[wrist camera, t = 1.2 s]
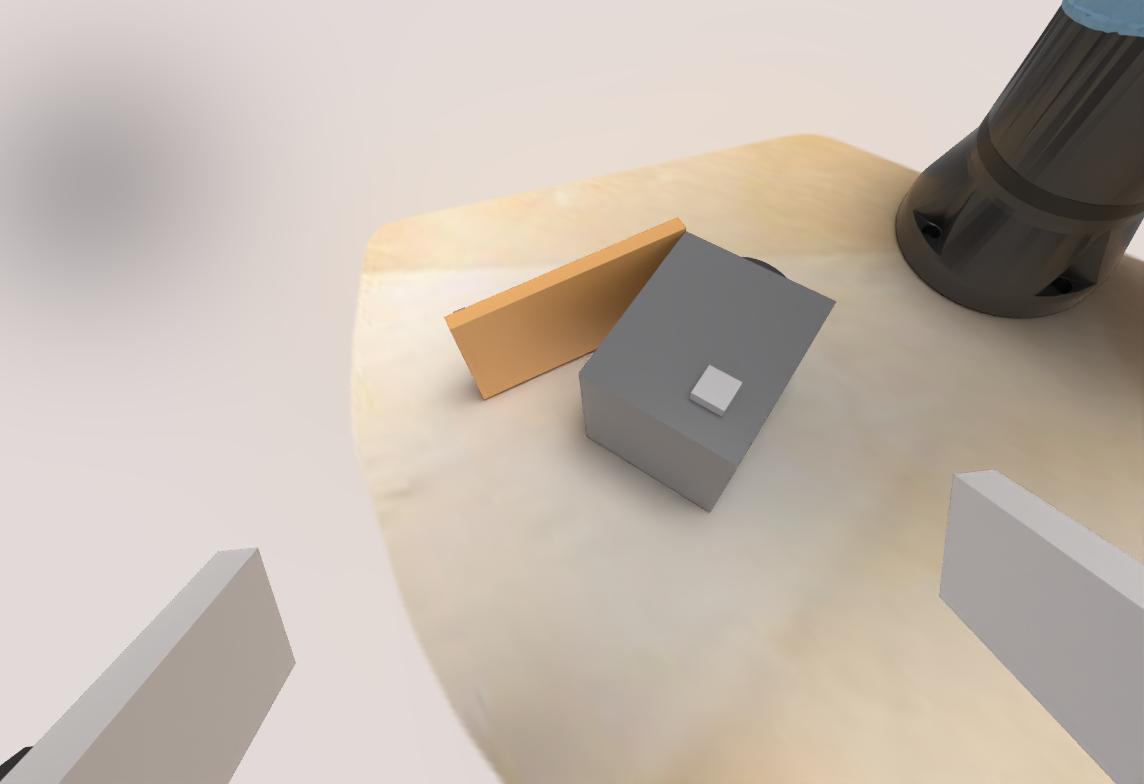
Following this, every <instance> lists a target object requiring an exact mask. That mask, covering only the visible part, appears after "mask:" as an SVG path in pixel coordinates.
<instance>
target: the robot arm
mask: <svg viewBox="0 0 1144 784" xmlns="http://www.w3.org/2000/svg"><path fill="white" fill-rule="evenodd" d="M1143 218H1144V0H1063V1H1062V5H1061V6H1060V8H1059V9H1058V11H1057V12H1056V14H1055V15H1054V17H1053V18H1052V20H1051V21H1050V23H1049V24H1048V26H1047V27H1046V29H1045V30H1044V32H1043V33H1042V35H1041V36H1040V38H1039V39H1038V41H1037V42H1036V43H1035V45H1034V46H1033V48H1032V49H1031V51H1030V52H1029V54H1028V55H1027V57H1026V58H1025V59H1024V61H1023V63H1022V64H1021V65H1020V67H1019V68H1018V70H1017V71H1016V73H1015V74H1014V76H1013V77H1012V78H1011V80H1010V81H1009V83H1008V84H1007V86H1006V87H1005V89H1004V90H1003V92H1002V93H1001V95H1000V96H999V97H998V99H997V100H996V102H995V103H994V105H993V107H992V108H991V110H990V111H989V113H988V114H987V116H986V117H985V118H984V120H983V121H982V123H981V124H980V126H979V127H978V128H976V129H975V130H974V131H973V132H971V133H970V134H969V135H968V136H967V137H965V138H964V139H963V140H961V141H960V142H959V143H958V144H956V145H955V146H954V147H953V148H951V149H950V150H949V151H948V152H946V153H945V154H944V155H943V156H941V157H940V158H939V159H938V160H936V161H935V162H934V163H933V164H931V165H930V166H929V167H928V168H926V169H925V171H923V172H922V174H921V175H920V176H919V177H918V178H917V179H916V181H915V182H914V184H913V185H912V187H911V188H910V190H909V192H908V193H907V195H906V196H905V198H904V200H903V201H902V203H901V205H900V208H899V211H898V214H897V221H896V231H897V237H898V241H899V244H900V247H901V249H902V252H903V254H904V256H905V257H906V259H907V261H908V262H909V264H910V265H911V266H912V268H913V269H914V270H915V271H916V272H917V274H918V275H919V276H920V277H921V278H922V279H923V280H924V281H926V282H927V283H928V284H929V285H930V286H932V287H933V288H934V289H935V290H937V291H938V292H940V293H941V294H943V295H944V296H946V297H948V298H950V299H951V300H953V301H955V302H957V303H959V304H962V305H964V306H966V307H969V308H971V309H974V310H977V311H980V312H984V313H988V314H992V315H997V316H1003V317H1013V318H1032V317H1041V316H1046V315H1051V314H1055V313H1058V312H1061V311H1063V310H1066V309H1068V308H1070V307H1072V306H1074V305H1075V304H1077V303H1078V302H1080V301H1081V300H1082V299H1084V298H1085V297H1086V296H1087V295H1089V294H1090V293H1091V292H1092V291H1094V290H1095V289H1096V288H1097V287H1099V286H1100V285H1101V284H1102V283H1103V282H1104V281H1105V280H1106V279H1107V278H1108V277H1109V276H1110V275H1111V273H1112V272H1113V271H1114V269H1115V268H1116V266H1117V264H1118V263H1119V261H1120V259H1121V257H1122V256H1123V254H1124V252H1125V250H1126V248H1127V247H1128V245H1129V243H1130V241H1131V240H1132V238H1133V236H1134V234H1135V232H1136V230H1137V229H1138V227H1139V225H1140V224H1141V222H1142V220H1143ZM939 597H940V598H941V599H942V600H943V601H944V602H945V603H946V604H947V605H948V606H949V607H950V608H951V609H952V611H953V612H954V613H955V614H956V615H957V616H958V617H959V618H960V619H961V620H962V621H963V622H964V623H965V624H966V625H967V626H968V627H969V629H970V630H971V631H972V632H973V633H974V634H975V635H976V636H977V637H978V638H979V639H980V640H981V641H982V642H983V643H984V644H985V646H986V647H987V648H988V649H989V650H990V651H991V652H992V653H993V654H994V655H995V656H996V657H997V658H998V659H999V660H1000V661H1001V662H1002V664H1003V665H1004V666H1005V667H1006V668H1007V669H1008V670H1009V671H1010V672H1011V673H1012V674H1013V675H1014V676H1015V677H1016V678H1017V679H1018V680H1019V682H1020V683H1021V684H1022V685H1023V686H1024V687H1025V688H1026V689H1027V690H1028V691H1029V692H1030V693H1031V694H1032V695H1033V696H1034V697H1035V698H1036V700H1037V701H1038V702H1039V703H1040V704H1041V705H1042V706H1043V707H1044V708H1045V709H1046V710H1047V711H1048V712H1049V713H1050V714H1051V715H1052V716H1053V718H1054V719H1055V720H1056V721H1057V722H1058V723H1059V724H1060V725H1061V726H1062V727H1063V728H1064V729H1065V730H1066V731H1067V732H1068V733H1069V734H1070V736H1071V737H1072V738H1073V739H1074V740H1075V741H1076V742H1077V743H1078V744H1079V745H1080V746H1081V747H1082V748H1083V749H1084V750H1085V751H1086V752H1087V754H1088V755H1089V756H1090V757H1091V758H1092V759H1093V760H1094V761H1095V762H1096V763H1097V764H1098V765H1099V766H1100V767H1101V768H1102V769H1103V770H1104V772H1105V773H1106V774H1107V775H1108V776H1109V777H1110V778H1111V779H1112V780H1113V781H1114V782H1115V783H1116V784H1144V564H1143V563H1141V562H1140V561H1138V560H1137V559H1135V558H1133V557H1132V556H1130V555H1129V554H1127V553H1126V552H1124V551H1122V550H1121V549H1119V548H1118V547H1116V546H1114V545H1113V544H1111V543H1110V542H1108V541H1107V540H1105V539H1103V538H1102V537H1100V536H1099V535H1097V534H1096V533H1094V532H1092V531H1091V530H1089V529H1088V528H1086V527H1085V526H1083V525H1081V524H1080V523H1078V522H1077V521H1075V520H1073V519H1072V518H1070V517H1069V516H1067V515H1066V514H1064V513H1062V512H1061V511H1059V510H1058V509H1056V508H1055V507H1053V506H1051V505H1050V504H1048V503H1047V502H1045V501H1044V500H1042V499H1040V498H1039V497H1037V496H1036V495H1034V494H1032V493H1031V492H1029V491H1028V490H1026V489H1025V488H1023V487H1021V486H1020V485H1018V484H1017V483H1015V482H1014V481H1012V480H1010V479H1009V478H1007V477H1006V476H1004V475H1002V474H1001V473H999V472H998V471H996V470H986V471H977V472H967V473H958V474H953V482H952V491H951V499H950V508H949V517H948V525H947V534H946V542H945V551H944V559H943V568H942V576H941V585H940V594H939ZM294 665H295V659H294V657H293V653H292V650H291V647H290V644H289V641H288V638H287V635H286V632H285V629H284V626H283V623H282V620H281V617H280V614H279V611H278V607H277V604H276V601H275V598H274V595H273V592H272V589H271V586H270V583H269V580H268V577H267V574H266V571H265V568H264V565H263V562H262V559H261V556H260V553H259V550H258V548H250V549H240V550H230V551H221V552H217V554H215V555H214V557H213V558H212V559H211V560H210V561H209V562H208V563H207V564H206V565H205V566H204V567H203V568H202V569H201V570H200V571H199V572H198V573H197V575H196V576H195V577H194V578H193V579H192V580H191V581H190V582H189V583H188V584H187V585H186V586H185V587H184V588H183V589H182V590H181V592H179V593H178V595H177V596H176V597H175V598H174V599H173V600H172V601H171V602H170V603H169V604H168V605H167V606H166V607H165V608H164V609H163V610H162V611H161V613H160V614H159V615H158V616H157V617H156V618H155V619H154V620H153V621H152V622H151V623H150V624H149V625H148V626H147V627H146V628H145V629H144V631H142V633H141V634H140V635H139V636H138V637H137V638H136V639H135V640H134V641H133V642H132V643H131V644H130V645H129V646H128V647H127V648H126V649H125V651H124V652H123V653H122V654H121V655H120V656H119V657H118V658H117V659H116V660H115V661H114V662H113V663H112V664H111V665H110V666H109V667H108V668H107V669H106V671H105V672H104V673H103V674H102V675H101V676H100V677H99V678H98V679H97V680H96V681H95V682H94V683H93V684H92V685H91V686H90V687H89V688H88V690H87V691H86V692H85V693H84V694H83V695H82V696H81V697H80V698H79V699H78V700H77V701H76V702H75V703H74V704H73V705H72V706H71V707H70V709H69V710H68V711H67V712H66V713H65V714H64V715H63V716H62V717H61V718H60V719H59V720H58V721H57V722H56V723H55V724H54V725H53V726H52V728H51V729H50V730H49V731H48V732H47V733H46V734H45V735H44V736H43V737H42V738H41V739H40V740H39V741H38V742H37V743H36V744H35V746H32V747H25V748H23V749H22V750H21V751H19V752H18V753H17V754H15V755H14V756H13V757H11V758H10V759H9V760H7V761H6V762H4V763H3V764H2V765H1V766H0V784H228V783H229V781H230V779H231V778H232V776H233V774H234V772H235V770H236V769H237V767H238V765H239V763H240V761H241V760H242V758H243V756H244V754H245V752H246V751H247V749H248V747H249V745H250V744H251V742H252V740H253V738H254V736H255V735H256V733H257V731H258V729H259V728H260V726H261V724H262V722H263V720H264V718H265V717H266V715H267V713H268V711H269V710H270V708H271V706H272V704H273V702H274V701H275V699H276V697H277V695H278V694H279V692H280V690H281V688H282V686H283V685H284V683H285V681H286V679H287V677H288V676H289V674H290V672H291V670H292V668H293V666H294Z"/></svg>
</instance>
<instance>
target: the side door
mask: <svg viewBox="0 0 1144 784" xmlns="http://www.w3.org/2000/svg"><path fill="white" fill-rule="evenodd" d="M685 232H686V227H685V226H684V224H683V223H682V222H681V220H680V219H679V217H677V218H675V219H673V220H670V221H668V222H666V223H663V224H661V225H659V226H656V227H654V228H652V229H649V230H647V231H645V232H642V233H640V234H638V235H635V236H633V237H631V238H628V239H626V240H624V241H621V242H619V243H617V244H614V245H612V246H609V247H607V248H605V249H602V250H600V251H598V252H595V253H593V254H591V255H588V256H586V257H584V258H581V259H579V260H577V261H574V262H572V263H570V264H567V265H565V266H563V267H560V268H558V269H556V270H553V271H551V272H549V273H546V274H544V275H542V276H539V277H537V278H534V279H532V280H530V281H527V282H525V283H523V284H520V285H518V286H516V287H513V288H511V289H509V290H506V291H504V292H502V293H499V294H497V295H495V296H492V297H490V298H488V299H485V300H483V301H481V302H478V303H476V304H474V305H471V306H469V307H467V308H465V307H464V308H462V309H459V310H457V311H455V312H453V313H452V314H450V315H448V316H445V317H444V318H445V320H446V322H447V325H448V327H449V329H450V331H451V333H452V335H453V337H454V339H455V341H456V343H457V345H458V347H459V350H460V352H461V354H462V356H463V358H464V360H465V362H466V364H467V366H468V368H469V370H470V372H471V374H472V376H473V378H474V380H475V382H476V384H477V386H478V388H479V390H480V392H481V394H482V396H483V398H484V399H486V398H489V397H491V396H493V395H495V394H497V393H500V392H502V391H504V390H506V389H509V388H511V387H513V386H515V385H517V384H520V383H522V382H524V381H526V380H529V379H531V378H533V377H535V376H537V375H540V374H542V373H544V372H546V371H549V370H551V369H553V368H555V367H557V366H560V365H562V364H564V363H566V362H569V361H571V360H573V359H575V358H577V357H580V356H582V355H584V354H586V353H589V352H591V351H593V350H595V349H597V348H598V347H599V346H600V345H601V343H602V342H603V341H604V339H605V338H606V337H607V335H608V334H609V333H610V331H611V330H612V329H613V327H614V326H615V325H616V323H617V322H618V321H619V319H620V318H621V317H622V315H623V314H624V313H625V311H626V310H627V309H628V307H629V306H630V305H631V303H632V302H633V301H634V299H635V298H636V297H637V295H638V294H639V293H640V291H641V290H642V289H643V287H644V286H645V285H646V283H647V282H648V281H649V279H650V278H651V277H652V275H653V274H654V273H655V271H656V270H657V269H658V267H659V266H660V265H661V263H662V262H663V261H664V259H665V258H666V257H667V255H668V254H669V253H670V251H671V250H672V249H673V247H674V246H675V245H676V243H677V242H678V241H679V240H680V238H681V237H682V236H683V234H684V233H685Z"/></svg>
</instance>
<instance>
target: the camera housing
mask: <svg viewBox="0 0 1144 784" xmlns="http://www.w3.org/2000/svg"><path fill="white" fill-rule="evenodd" d="M835 303H836V301H834V300H832V299H830V298H828V297H825V296H823V295H821V294H819V293H817V292H815V291H813V290H810V289H808V288H806V287H804V286H802V285H800V284H798V283H795V282H793V281H791V280H789V279H787V278H786V277H785V276H784V275H783V274H782V273H781V272H780V271H778V270H777V269H776V268H774V267H772V266H771V265H769V264H767V263H765V262H762V261H760V260H757V259H753V258H748V257H740V256H738V255H736V254H733V253H731V252H729V251H727V250H725V249H723V248H721V247H718V246H716V245H714V244H712V243H710V242H708V241H706V240H703V239H701V238H699V237H697V236H695V235H693V234H691V233H688V232H685V233H684V234H683V236H682V237H681V238H680V240H679V241H678V242H677V243H676V245H675V246H674V247H673V249H672V250H671V251H670V253H669V254H668V255H667V257H666V258H665V259H664V261H663V262H662V263H661V265H660V266H659V267H658V269H657V270H656V271H655V273H654V274H653V275H652V277H651V278H650V279H649V281H648V282H647V283H646V285H645V286H644V287H643V289H642V290H641V291H640V293H639V294H638V295H637V297H636V298H635V299H634V301H633V302H632V303H631V305H630V306H629V307H628V309H627V310H626V311H625V313H624V314H623V315H622V317H621V318H620V319H619V321H618V322H617V323H616V325H615V326H614V327H613V329H612V330H611V331H610V333H609V334H608V335H607V337H606V338H605V339H604V341H603V342H602V343H601V345H600V346H599V347H598V349H597V350H596V351H595V353H594V354H593V355H592V357H591V358H590V359H589V360H588V362H587V363H586V364H585V366H584V367H583V368H582V370H581V371H580V372H579V379H580V387H581V395H582V403H583V411H584V419H585V427H586V435H587V437H589V438H590V439H592V440H593V441H595V442H597V443H598V444H600V445H601V446H603V447H605V448H606V449H608V450H610V451H611V452H613V453H614V454H616V455H618V456H619V457H621V458H622V459H624V460H626V461H627V462H629V463H630V464H632V465H634V466H635V467H637V468H639V469H640V470H642V471H643V472H645V473H647V474H648V475H650V476H651V477H653V478H655V479H656V480H658V481H660V482H661V483H663V484H664V485H666V486H668V487H669V488H671V489H672V490H674V491H676V492H677V493H679V494H680V495H682V496H684V497H685V498H687V499H689V500H690V501H692V502H693V503H695V504H697V505H698V506H700V507H701V508H703V509H705V510H706V511H708V512H711V510H712V508H713V507H714V505H715V503H716V502H717V500H718V498H719V497H720V495H721V494H722V492H723V490H724V489H725V487H726V485H727V484H728V482H729V480H730V479H731V477H732V475H733V474H734V472H735V470H736V469H737V467H738V465H739V464H740V462H741V460H742V459H743V457H744V455H745V454H746V452H747V450H748V449H749V447H750V445H751V444H752V442H753V440H754V439H755V437H756V435H757V434H758V432H759V430H760V429H761V427H762V425H763V424H764V422H765V420H766V419H767V417H768V415H769V413H770V412H771V410H772V408H773V407H774V405H775V403H776V402H777V400H778V398H779V397H780V395H781V393H782V392H783V390H784V388H785V387H786V385H787V383H788V382H789V380H790V378H791V377H792V375H793V373H794V372H795V370H796V368H797V367H798V365H799V363H800V362H801V360H802V358H803V357H804V355H805V353H806V352H807V350H808V348H809V347H810V345H811V343H812V342H813V340H814V338H815V337H816V335H817V333H818V331H819V330H820V328H821V326H822V325H823V323H824V321H825V320H826V318H827V316H828V315H829V313H830V311H831V310H832V308H833V306H834V305H835Z"/></svg>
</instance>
